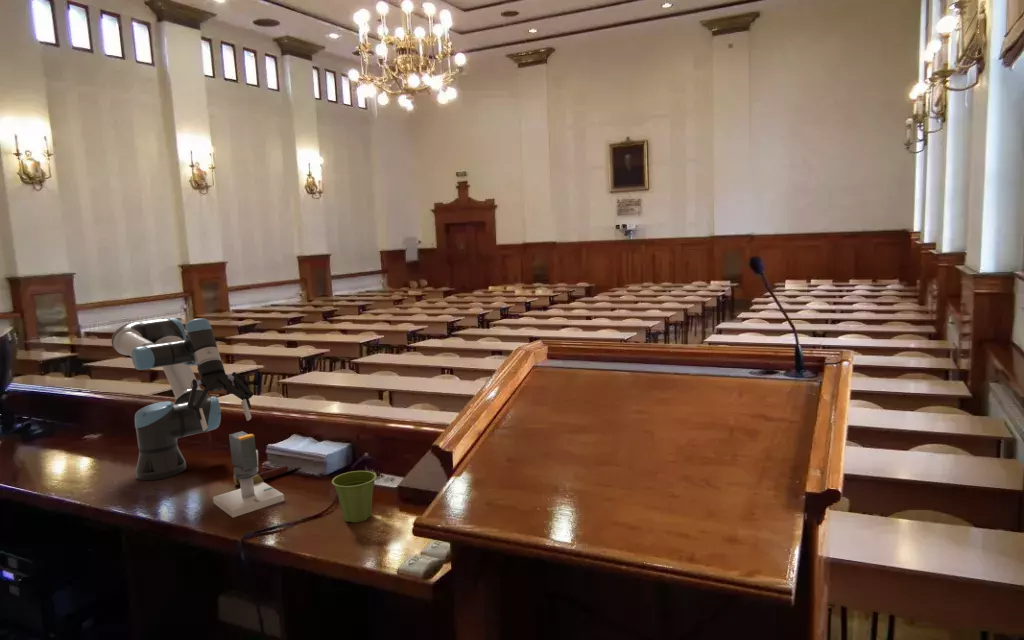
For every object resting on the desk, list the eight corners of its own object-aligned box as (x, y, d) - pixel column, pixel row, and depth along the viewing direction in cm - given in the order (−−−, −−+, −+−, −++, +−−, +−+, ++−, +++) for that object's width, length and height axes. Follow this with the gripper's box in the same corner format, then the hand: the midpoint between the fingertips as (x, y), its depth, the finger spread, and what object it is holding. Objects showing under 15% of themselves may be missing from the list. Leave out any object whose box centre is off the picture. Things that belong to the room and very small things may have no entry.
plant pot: (388, 515, 180) (385, 475, 178) (352, 531, 171) (348, 490, 170) (362, 504, 188) (359, 467, 186) (326, 519, 179) (323, 480, 178)
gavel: (290, 456, 224) (308, 461, 218) (291, 469, 224) (308, 475, 218) (232, 472, 208) (249, 478, 201) (233, 486, 208) (250, 492, 202)
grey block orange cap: (229, 474, 194) (224, 433, 192) (250, 468, 198) (246, 428, 197) (240, 482, 188) (236, 439, 186) (262, 475, 192) (258, 434, 190)
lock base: (213, 503, 194) (210, 477, 193) (263, 487, 205) (260, 463, 203) (232, 517, 184) (229, 490, 182) (284, 500, 194) (281, 474, 193)
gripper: (170, 365, 202) (188, 429, 196) (250, 352, 219) (269, 411, 213) (165, 375, 207) (183, 437, 202) (244, 361, 224) (263, 419, 219)
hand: (227, 424), depth 208 cm, fingers open, 13 cm apart
